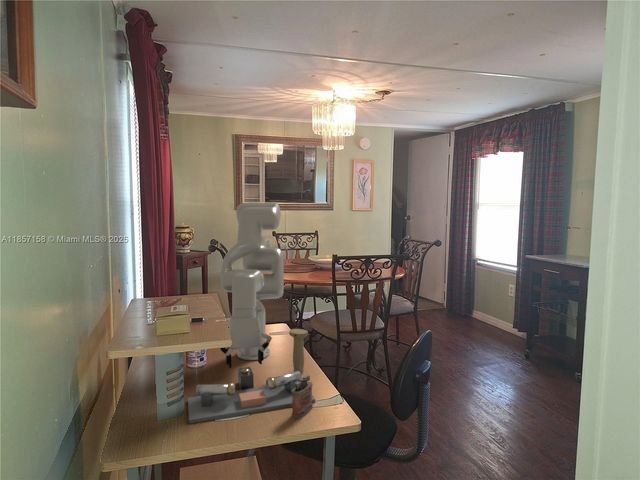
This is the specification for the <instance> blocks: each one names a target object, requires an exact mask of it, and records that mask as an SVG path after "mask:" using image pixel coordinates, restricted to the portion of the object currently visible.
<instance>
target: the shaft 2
mask: <svg viewBox="0 0 640 480" xmlns="http://www.w3.org/2000/svg"><path fill="white" fill-rule="evenodd" d="M299 378H301V379H302V378H303V377H302V374H301V373H300V372H299V371H296V372H294V371H293V372H289V373H285V374H282V375H279V376H278V375H277V376H274V377H273V376H271V377H268V378H266V380H265V385H266V386H267V388H268V389H269V390H273V389H275V388H276V387H280V386H283V385H284V389H285V390H286V391H288V392H289V393H290V394H292V390H293V389H294V388H295V383H296V382H297V381H298V379H299Z"/></svg>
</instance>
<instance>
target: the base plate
mask: <svg viewBox="0 0 640 480" xmlns="http://www.w3.org/2000/svg"><path fill="white" fill-rule="evenodd" d="M314 403H316V398H315V397H314V395H313V394H312V404H314ZM187 405H188V406H187V412H188V424H194V423H195V424H197V423H201V422H206V421H211V420H212V421H213V420H219V419H225V418H231V417H235V416H243V415H248V414H255V413H261V412H267V411H271V410H278V409H285V408H290V407H292V394H290V393H289V392H288V391H286V390H285V389H284V385H283V386H280V387H276V388H275V389H273V390H269V389H268V388H267V386H261V387H260V386H259V387H254V388H252V389H245V390H235V394H234V395H233V396H228V395H213V402H212V404H211V406H210V407H201V396H192V397H191V396H190V397H187Z"/></svg>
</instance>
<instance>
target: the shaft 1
mask: <svg viewBox="0 0 640 480" xmlns="http://www.w3.org/2000/svg"><path fill="white" fill-rule="evenodd" d="M235 391H236V383H234V382H229V383H221V384H220V383H219V384H196V386H195V397H198V396H201V407H210V406H211V404H212V402H213V395H228V396H233V395H234V394H235Z"/></svg>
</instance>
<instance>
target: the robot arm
mask: <svg viewBox="0 0 640 480" xmlns="http://www.w3.org/2000/svg"><path fill="white" fill-rule="evenodd" d="M281 212H282V211H281V208H280V205H279V204H278V203H276V202H244V203H241V204H239V205H237V206H236V211H235V214H236V219H237V223H238V226H237V228H238V229H237V242H236V244H234V245H233V246H232V247H231V248H230V249H229V250H228V252H226V254H225V256H224V257H223V260H222V263H221V270H220V271H221V273H220V287H221V289H222V291H224V292H226V293H231V296H232V297H231V301H232V303H231V304H232V305H231V306H232V311H231V313H232V315H231V316H229V320H228V327H229V331H230V335H231V340H232V345H231V347H225V348H219V349H220V351H221V352H222V353H223V354H224V355H225V365H226V366H228V369H231V368H232V364H233V363H232V354H231V353H233V351H234V350H237V351H236V356H237V357H238V358H239V359H241V360H245V361H257V362H258V365H262V363H263V361H264V359H265V358H267V357H269V355H270V353H271V352H270V349H269V345H270V343H271V342H272V339H273V338H272V336H271V335H269V334H267V333H266V308H265V306H264V305H263V304H262V301H260V300H275V299H276V300H277V299H280V298H282V297H283V296H284V289H285V287H284V286H285V285H284V284H285V283H284V282H285V281H284V280H285V279H284V275H285V273H284V272H285V270H284V267H285V266H284V254H283V252H282V249H280V248H278V247H266V246H265V245H266V244H265V243H266V241H265V239H266V237H265V235H264V234H263V232H262V231H265V230H266V231H267V230H268V231H269V230H271V231H273V230H276V229H278V228H279V226H280V220H281V215H282V214H281ZM241 259H242V266H243V267H242V268H243V269H231V268H232V266H233V265H234V264H235V263H236V262H237V261H238V260H241ZM265 272H267V273H265ZM268 272H270V273H268Z"/></svg>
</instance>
